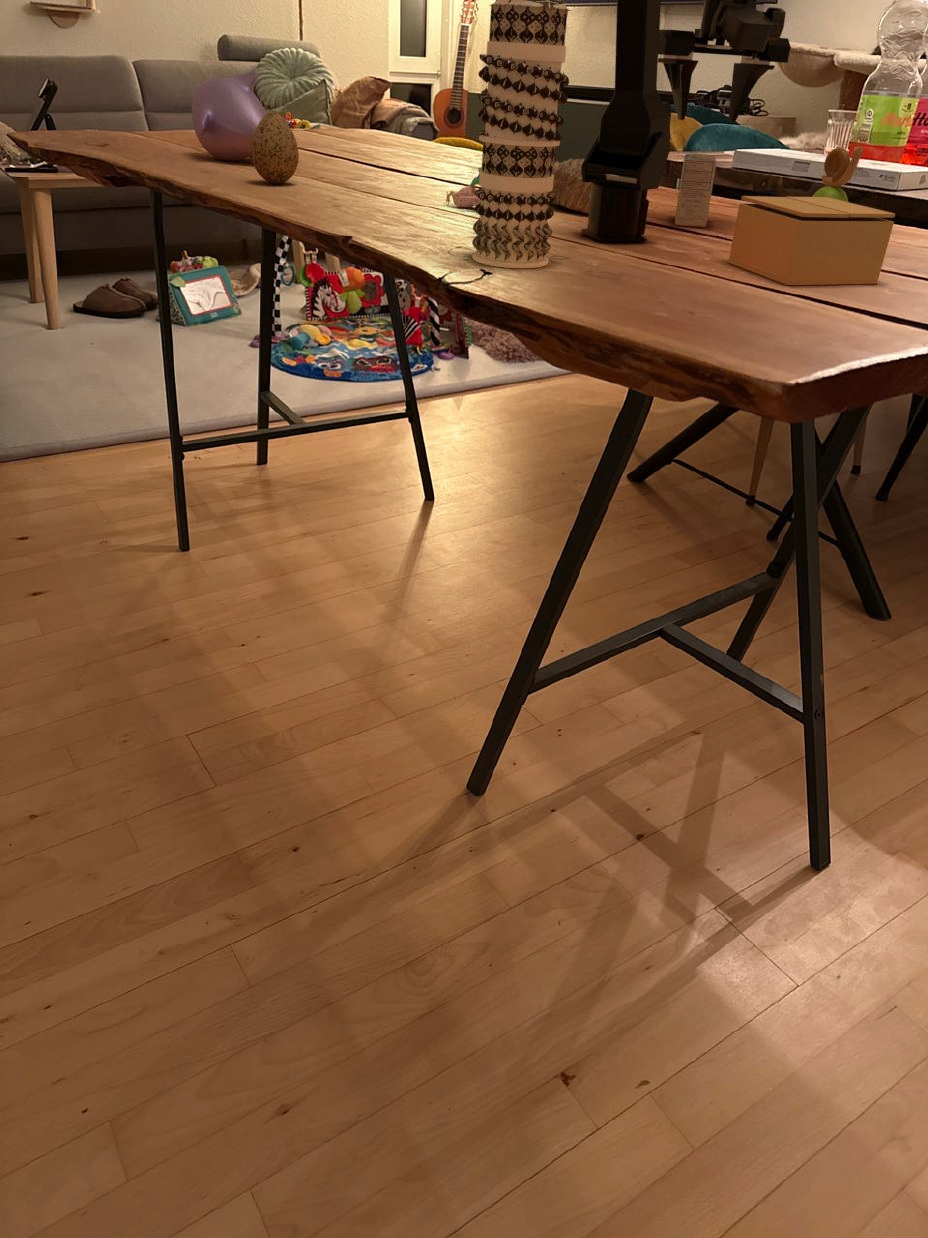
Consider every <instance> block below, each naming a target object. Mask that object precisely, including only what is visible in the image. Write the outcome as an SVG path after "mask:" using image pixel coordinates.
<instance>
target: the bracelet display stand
mask: <svg viewBox="0 0 928 1238" xmlns="http://www.w3.org/2000/svg"><path fill="white" fill-rule="evenodd" d="M489 6H490V19H489V37H488V41H487V42H486V54H484V53H480V54H479V59H480V60H481V61H482V62H483V63H484V64H485V65H484V67H482V68H481V69H480V70H479V71H478V77H479V78H480V79H481V80H482V81H483V82H484V83H486V84H487V86H486V87H485V88H484V89H483V90H482V91H481V92H480V93H479V94H478V100H479V101H480V102H481V103H482V104H483V105H484V106H483V107H481V109H480V110H479V111H478V112H477V116H478V118H480V120H481V121H482V122H483V123H485V127H484V128H482V129H481V130H480V132H479V133H478V140H479V141H481V142H483V143H482V155H481V167H482V170H481V171H480V178H479V185H478V186H479V188H478V189H477V190H476V192H475V195H476V196H477V197H478V198H479V199H480V200H481V202H480V204H478V205H477V206H474V208H473V209H474V212H475V213H477V214H478V215H479V217H478V220H476V221H475V222H474V223H473V225H472V230H473V232H474V233H475V234H476V236H475V237H474V238H473V239H472V242H471V244H472V246H473V247H474V248H475V250H476V251H474V253H473V254H472V260H473V261H475V262H477V263H479V264H483V265H485V266H491V267H498V268H506V269H507V268H508V269H535V268H542V267H545V266H548V264H549V257H547V256H546V255H547V254H548V253H549V252H550V250H551V248H552V246H551V243H550V242H549V241H548V240H549V238H551V236H552V235H553V229H552V227H551V226H550V225H549V223H548V222H549V221H548V220H550V219H552V217H553V216H554V214H555V212H554V211H553V210H552V209H551V208H550V207H549V205H552V203H553V201H554V200H555V195H554V194H552V193H551V191H552V190H553V181H554V175H553V172H552V170H553V164H554V163H555V149H556V147H559V146H560V145H561V141H562V140H563V136H562V135H561V134H560V133H559V132H558V131H557V129H559V128H560V127H561V126H563V125H564V124H565V120H564V117H563V116H562V115H560V113H558V107H559V106H560V109H561V106H563V105H565V104H566V103H567V102H568V96H567V95H566V93H564V91H563V89H564V88H566V87H568V85H570V78H569V76H567V75H566V74H565V72H564V71H563V72H562V66H563V64H564V63H566V55H567V45H565V44H566V34H567V21H568V20H567V19H568V16H569V15H568V13H569V12H572V9H568V7H567V6H566V3H565V1H564V0H495V1H494V2H493V3H491V4H489Z"/></svg>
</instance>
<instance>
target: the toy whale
mask: <svg viewBox="0 0 928 1238" xmlns="http://www.w3.org/2000/svg"><path fill="white" fill-rule="evenodd" d="M258 75H259V72H258V70H251V71H249V72H246V73H243V74H242V73H241V74H238V75H236V76H234V77H225V76H223V77H221V76H220V77H213V78H209V79H206V80H204V81H203V82H201V83H200V84H199V85H198V86H197V87H196V89H195V90H194V93H193V96H192V101H191V102H192V104H191V118H192V124H193V129H194V132H195V135H196V137H197V140H198V142H199V143H200V145H201V146H202V148H203V149H204V150H205V151H206V152H207V153H208V154H210V156H212V157H214V158H216V159H217V160H218V159H219V160H221V161H227V162H229V161H233V162H234V161H241V160H244V159H248V158H249V159H250V160H252V155H251V145H252V139H253V135H254V132H255V130H256V128H257V126H258V124H259V122H260V121H261V120H262V118H263V117H264V116H265V115H266V114H267V111H266V109H265V107H264V106H263V104H262V102H261V101H260V99H259V98H258V96H257V95H256V94H255V92H254V91H255V85H256V83H257V81H258V77H259V76H258ZM284 120H285V121H286V122H287V124H288V125H289V120H288V119H285V118H284Z"/></svg>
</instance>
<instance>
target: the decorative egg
mask: <svg viewBox="0 0 928 1238" xmlns="http://www.w3.org/2000/svg"><path fill="white" fill-rule="evenodd" d="M251 155H252V159H251V161H252V163H253V166H254V168H255V170H256V172H257V173H258V175H259V176H260V177H261V178H262V179H263V180H264V181H266V182H268V183H270V184H274V185H281V184H284V183H286V182H288V181H289V180H290V179H291V178H292V177H293V176H294V175H295V173H296V170H297V168H298V165H299V159H300V157H299V156H300V153H299V145H298V141H297V139H296V136H295V134H294V132H293V131H292V128H291V127H290V126H289V123H288V124H287V122H286V121H285V118H283V117H282V115H280V113H279V112H277V111H275V110H271V111H268V112H266V115H265V116H264V117H263V118H262V120H261V121H260V122H259V124H258V126H257V128H256V130H255V132H254V135H253V139H252V145H251Z"/></svg>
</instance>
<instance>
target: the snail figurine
mask: <svg viewBox="0 0 928 1238" xmlns="http://www.w3.org/2000/svg"><path fill="white" fill-rule="evenodd" d="M859 142H860V145H858V146H856V147H855V148H853V150H852V157H850V153H849V151H848V150H847V149H846V148H844V147H835V148H833V149H832V150H830V152H829V153H828V154H827V155H826V158H825V159H824V165H823V170H824V173H825V175H824V174H822V175H821V182H822V184H823V185H824V186H823V187H821V188H819V189H818V190H816V191H815V193H813V194H812V196H811V197H828V198H833V199H837V200H841V201H845V202H849V199H848V196H847V193H846V192H845V190H844V189H842V188H841V187H843V186H844V185H847V183H849V182H850V180H851V179H852V177H853V176H854V174H855V172H856V169H857V167H858V165H859V162H860V159H861V158H862V155H863V153H864V147H865V144H866V143H867V142H868V138H867V137H860V138H859ZM862 143H863V145H862Z"/></svg>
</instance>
